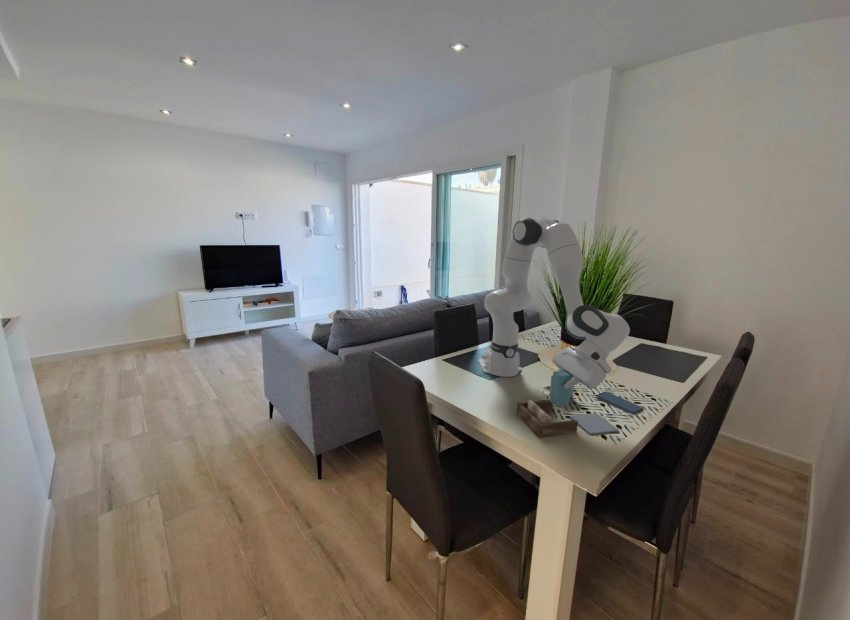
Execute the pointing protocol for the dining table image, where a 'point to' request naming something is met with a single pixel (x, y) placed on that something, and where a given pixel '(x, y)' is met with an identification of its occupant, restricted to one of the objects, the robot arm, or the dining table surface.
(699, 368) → the dining table surface
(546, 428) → the tray
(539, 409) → the offcut stack
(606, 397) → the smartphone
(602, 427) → the grey mat
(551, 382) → the medicine box
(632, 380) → the dining table surface
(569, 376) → the teal rectangular block
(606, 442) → the dining table surface
